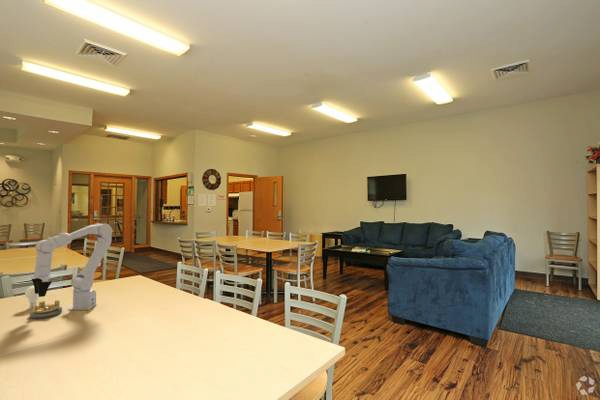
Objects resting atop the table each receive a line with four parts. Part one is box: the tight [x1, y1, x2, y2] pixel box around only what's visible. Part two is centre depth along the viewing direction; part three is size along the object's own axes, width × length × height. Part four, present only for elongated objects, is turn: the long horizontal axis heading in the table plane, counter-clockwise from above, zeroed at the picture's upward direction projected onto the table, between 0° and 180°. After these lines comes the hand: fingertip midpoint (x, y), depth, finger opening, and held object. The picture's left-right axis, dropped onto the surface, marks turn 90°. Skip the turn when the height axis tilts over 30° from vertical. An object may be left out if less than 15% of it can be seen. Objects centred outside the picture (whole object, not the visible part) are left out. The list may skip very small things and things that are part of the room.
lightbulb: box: [24, 285, 40, 309], centre depth 156 cm, size 6×6×11 cm
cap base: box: [29, 306, 63, 320], centre depth 147 cm, size 12×12×2 cm
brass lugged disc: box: [32, 299, 61, 314], centre depth 147 cm, size 10×10×3 cm
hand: (39, 294), depth 143 cm, fingers open, 7 cm apart
